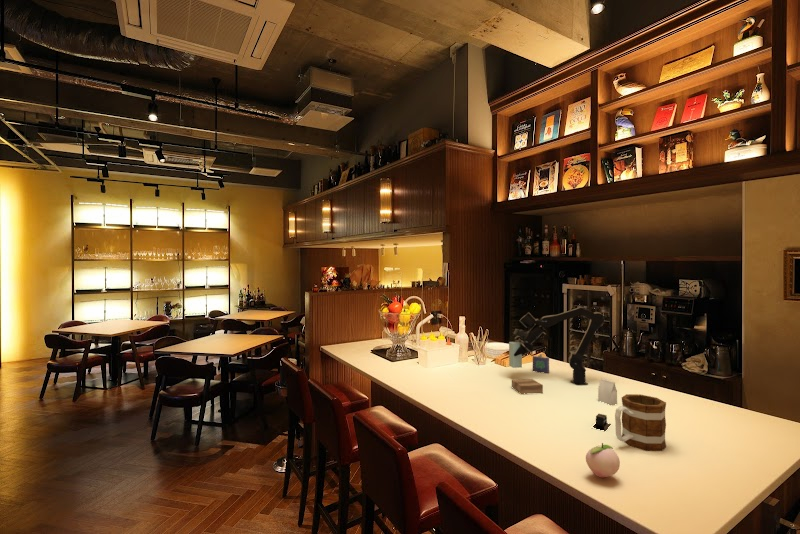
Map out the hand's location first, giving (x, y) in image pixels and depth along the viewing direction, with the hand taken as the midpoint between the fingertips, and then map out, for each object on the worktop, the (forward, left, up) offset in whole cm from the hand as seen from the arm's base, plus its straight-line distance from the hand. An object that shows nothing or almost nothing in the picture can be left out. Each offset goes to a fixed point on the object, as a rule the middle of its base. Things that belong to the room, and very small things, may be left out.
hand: (512, 354), depth 222 cm
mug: (-83, -8, -14) cm, 85 cm away
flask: (+12, -22, -14) cm, 29 cm away
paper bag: (-42, -26, -14) cm, 52 cm away
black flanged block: (-67, -6, -14) cm, 68 cm away
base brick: (-20, +2, -13) cm, 24 cm away
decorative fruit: (-102, +18, -14) cm, 105 cm away
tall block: (0, -1, -7) cm, 7 cm away
